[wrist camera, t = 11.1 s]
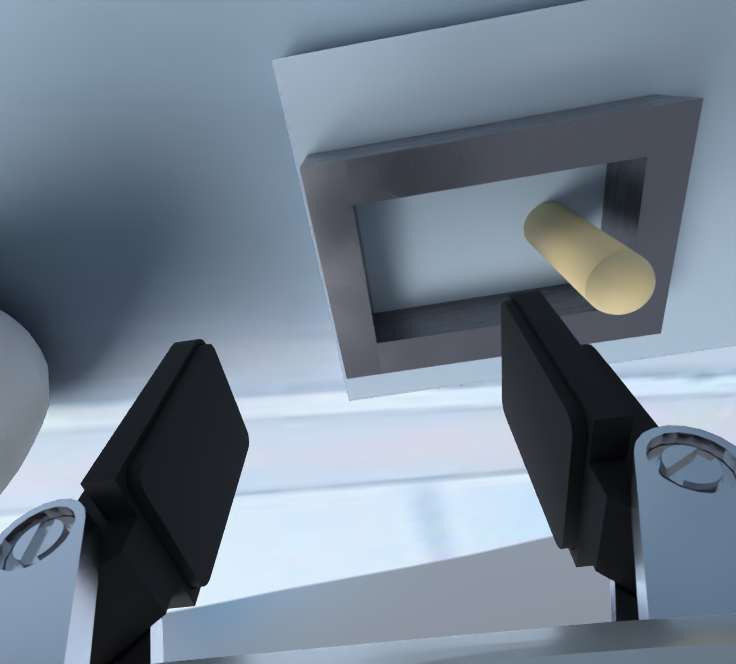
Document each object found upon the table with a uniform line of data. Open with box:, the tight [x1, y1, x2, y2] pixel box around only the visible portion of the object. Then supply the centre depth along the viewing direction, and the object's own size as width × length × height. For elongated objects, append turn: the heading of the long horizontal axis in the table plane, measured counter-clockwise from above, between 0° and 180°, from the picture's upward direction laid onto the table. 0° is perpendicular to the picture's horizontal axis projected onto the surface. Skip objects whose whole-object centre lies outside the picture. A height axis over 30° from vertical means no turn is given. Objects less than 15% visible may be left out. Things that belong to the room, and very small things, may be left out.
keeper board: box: [272, 0, 736, 401], centre depth 16 cm, size 18×14×8 cm
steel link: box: [300, 94, 703, 379], centre depth 17 cm, size 12×8×2 cm, turn 99°
